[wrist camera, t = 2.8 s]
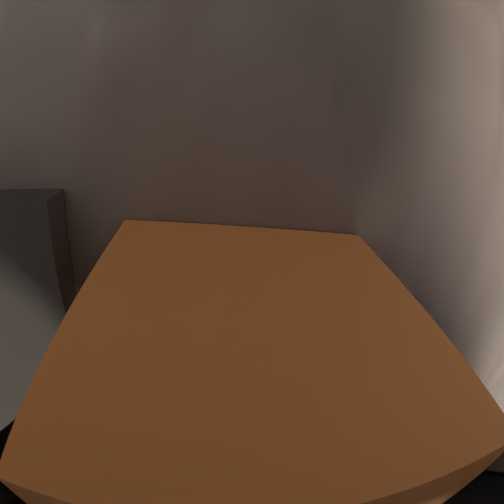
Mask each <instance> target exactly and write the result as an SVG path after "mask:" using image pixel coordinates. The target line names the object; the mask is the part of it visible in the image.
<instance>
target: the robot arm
mask: <svg viewBox="0 0 504 504" xmlns="http://www.w3.org/2000/svg"><path fill="white" fill-rule="evenodd" d="M15 419H16V418H15ZM15 419H14V420H13V421H12V422H11V423H10V424H8V425H7V426H6V427H5V428H3V429H2V430H1V431H0V460H1V457H2V454H3V451H4V448H5V445H6V442H7V440H8V437H9V434H10V432H11V429H12V426H13V424H14V421H15ZM0 504H27V503H26V502H24V501H23V500H22V499H21V498H19V497H18V496H17V495H16V494H15V493H13V492H12V491H11V490H10V489H9V488H8V487H7V486H5V485H4V484H3V483H2V482H1V481H0ZM442 504H504V452H503V453H502V454H501V455H500V456H499V457H498V458H497V459H496V460H495V461H494V462H493V463H492V464H491V465H490V466H489V467H487V468H486V469H485V470H484V471H483V472H482V473H481V474H479V475H478V476H477V477H476V478H475V479H473V480H472V481H471V482H470V483H469V484H467V485H466V486H465V487H464V488H462V489H461V490H460V491H459V492H457V493H456V494H455V495H453V496H452V497H451V498H449V499H448V500H447V501H445V502H444V503H442Z"/></svg>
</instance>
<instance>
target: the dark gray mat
mask: <svg viewBox="0 0 504 504" xmlns="http://www.w3.org/2000/svg"><path fill="white" fill-rule="evenodd" d="M76 296H77V294H76V288H75V283H74V277H73V271H72V265H71V259H70V252H69V244H68V237H67V228H66V218H65V207H64V194H63V190H1V191H0V431H1V430H2V429H3V428H5V427H6V426H7V425H8V424H10V423H11V422H12V421H13V420H14V419H15V418H16V416H17V414H18V412H19V409H20V407H21V404H22V402H23V400H24V397H25V395H26V393H27V391H28V388H29V386H30V384H31V382H32V380H33V378H34V375H35V373H36V371H37V369H38V367H39V365H40V363H41V361H42V359H43V357H44V355H45V353H46V351H47V349H48V347H49V345H50V343H51V341H52V339H53V337H54V335H55V333H56V332H57V330H58V328H59V326H60V324H61V322H62V320H63V319H64V317H65V315H66V313H67V311H68V310H69V308H70V306H71V304H72V303H73V301H74V299H75V298H76Z"/></svg>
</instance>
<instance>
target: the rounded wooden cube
mask: <svg viewBox="0 0 504 504" xmlns="http://www.w3.org/2000/svg"><path fill="white" fill-rule="evenodd" d="M503 452H504V413H503V412H502V410H501V409H500V407H499V406H498V404H497V403H496V401H495V400H494V398H493V397H492V396H491V394H490V393H489V391H488V390H487V389H486V387H485V386H484V384H483V383H482V382H481V380H480V379H479V377H478V376H477V375H476V373H475V372H474V371H473V369H472V368H471V367H470V365H469V364H468V363H467V361H466V360H465V359H464V357H463V356H462V355H461V354H460V352H459V351H458V350H457V348H456V347H455V346H454V345H453V343H452V342H451V341H450V339H449V338H448V337H447V336H446V334H445V333H444V332H443V331H442V329H441V328H440V327H439V326H438V325H437V323H436V322H435V321H434V320H433V318H432V317H431V316H430V315H429V314H428V312H427V311H426V310H425V309H424V308H423V307H422V305H421V304H420V303H419V302H418V301H417V299H416V298H415V297H414V296H413V295H412V294H411V293H410V291H409V290H408V289H407V288H406V287H405V286H404V285H403V283H402V282H401V281H400V280H399V279H398V278H397V277H396V276H395V274H394V273H393V272H392V271H391V270H390V269H389V268H388V267H387V266H386V264H385V263H384V262H383V261H382V260H381V259H380V258H379V257H378V256H377V255H376V254H375V253H374V251H373V250H372V249H371V248H370V247H369V246H368V245H367V244H366V243H365V242H364V241H363V240H362V239H361V238H360V237H359V236H358V235H353V234H341V233H329V232H316V231H304V230H290V229H277V228H262V227H247V226H232V225H216V224H199V223H181V222H162V221H141V220H125V221H124V222H123V224H122V225H121V227H120V228H119V230H118V231H117V233H116V234H115V236H114V237H113V238H112V240H111V241H110V243H109V244H108V246H107V248H106V249H105V251H104V252H103V254H102V255H101V257H100V258H99V260H98V261H97V263H96V265H95V266H94V268H93V269H92V271H91V273H90V274H89V276H88V277H87V279H86V281H85V282H84V284H83V286H82V287H81V289H80V291H79V292H78V294H77V296H76V298H75V299H74V301H73V303H72V304H71V306H70V308H69V310H68V311H67V313H66V315H65V317H64V319H63V320H62V322H61V324H60V326H59V328H58V330H57V332H56V333H55V335H54V337H53V339H52V341H51V343H50V345H49V347H48V349H47V351H46V353H45V355H44V357H43V359H42V361H41V363H40V365H39V367H38V369H37V371H36V373H35V375H34V378H33V380H32V382H31V384H30V386H29V388H28V391H27V393H26V395H25V397H24V400H23V402H22V404H21V407H20V409H19V412H18V414H17V416H16V419H15V421H14V424H13V426H12V429H11V432H10V434H9V437H8V440H7V442H6V445H5V448H4V451H3V454H2V457H1V460H0V481H1V482H2V483H3V484H4V485H5V486H7V487H8V488H9V489H10V490H11V491H12V492H13V493H15V494H16V495H17V496H18V497H19V498H21V499H22V500H23V501H24V502H26V503H27V504H442V503H444V502H445V501H447V500H448V499H449V498H451V497H452V496H453V495H455V494H456V493H457V492H459V491H460V490H461V489H462V488H464V487H465V486H466V485H467V484H469V483H470V482H471V481H472V480H473V479H475V478H476V477H477V476H478V475H479V474H481V473H482V472H483V471H484V470H485V469H486V468H487V467H489V466H490V465H491V464H492V463H493V462H494V461H495V460H496V459H497V458H498V457H499V456H500V455H501V454H502V453H503Z"/></svg>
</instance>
